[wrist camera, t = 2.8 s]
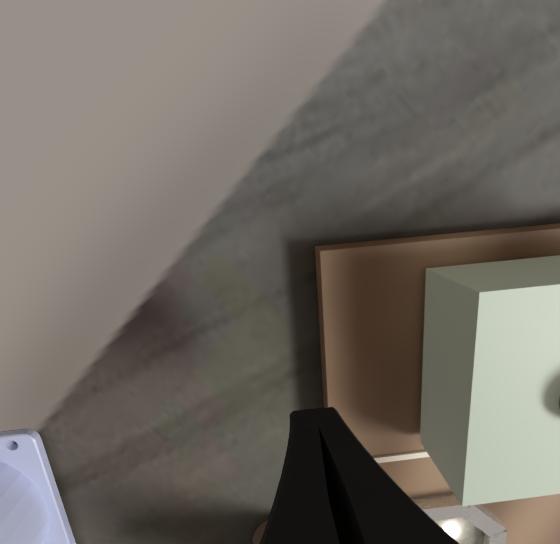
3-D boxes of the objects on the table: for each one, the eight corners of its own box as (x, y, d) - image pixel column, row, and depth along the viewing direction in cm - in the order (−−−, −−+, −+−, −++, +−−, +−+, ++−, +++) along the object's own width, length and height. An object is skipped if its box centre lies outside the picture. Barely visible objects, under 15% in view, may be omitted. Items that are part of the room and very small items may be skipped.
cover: (419, 441, 14) (473, 524, 10) (426, 268, 12) (494, 299, 8) (590, 420, 14) (697, 494, 11) (623, 248, 12) (768, 270, 9)
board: (333, 587, 18) (339, 618, 17) (314, 246, 13) (320, 252, 12) (597, 550, 19) (623, 577, 17) (675, 212, 14) (720, 214, 12)
